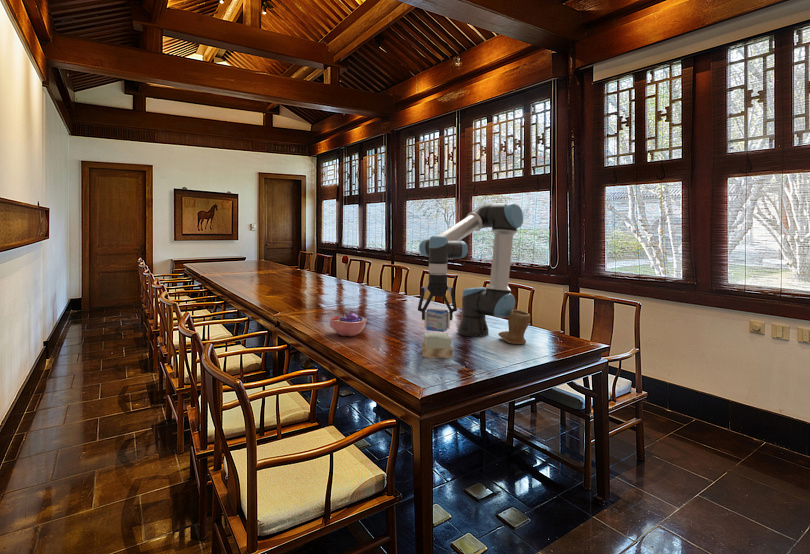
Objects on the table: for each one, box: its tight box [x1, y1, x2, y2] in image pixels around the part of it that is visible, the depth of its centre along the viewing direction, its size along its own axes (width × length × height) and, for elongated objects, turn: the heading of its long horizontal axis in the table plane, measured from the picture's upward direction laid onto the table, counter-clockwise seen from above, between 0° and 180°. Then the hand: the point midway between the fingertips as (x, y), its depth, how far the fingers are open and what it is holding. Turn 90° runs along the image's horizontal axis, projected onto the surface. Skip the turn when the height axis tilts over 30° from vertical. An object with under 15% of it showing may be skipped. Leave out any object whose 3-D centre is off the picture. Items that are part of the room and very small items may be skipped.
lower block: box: [421, 341, 454, 359], centre depth 188 cm, size 12×12×4 cm
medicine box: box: [425, 308, 449, 333], centre depth 187 cm, size 8×4×9 cm, turn 62°
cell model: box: [329, 312, 368, 337], centre depth 219 cm, size 17×20×11 cm
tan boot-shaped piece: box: [498, 309, 531, 345], centre depth 209 cm, size 15×12×15 cm
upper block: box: [423, 332, 452, 349], centre depth 188 cm, size 10×10×4 cm
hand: (436, 327), depth 187 cm, fingers closed on medicine box, 9 cm apart
